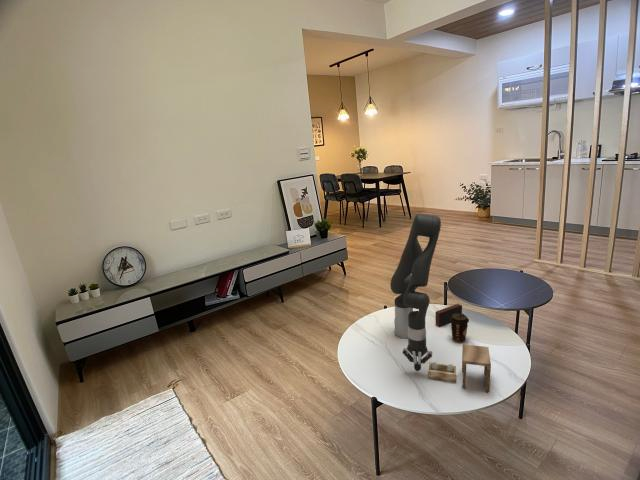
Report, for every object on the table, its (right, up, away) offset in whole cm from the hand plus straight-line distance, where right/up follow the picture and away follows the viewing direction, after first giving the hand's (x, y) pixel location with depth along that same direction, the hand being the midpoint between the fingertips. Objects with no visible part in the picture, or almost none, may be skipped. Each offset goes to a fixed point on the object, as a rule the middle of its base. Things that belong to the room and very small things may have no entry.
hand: (417, 369), depth 156 cm
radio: (+27, +12, +39) cm, 48 cm away
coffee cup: (+27, +7, +22) cm, 36 cm away
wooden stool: (+22, -2, -8) cm, 23 cm away
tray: (+10, -2, -3) cm, 10 cm away
